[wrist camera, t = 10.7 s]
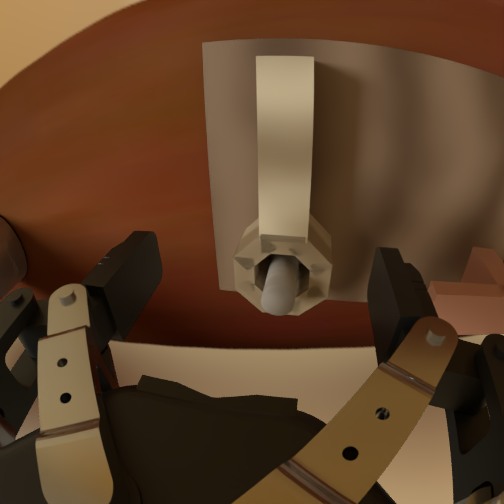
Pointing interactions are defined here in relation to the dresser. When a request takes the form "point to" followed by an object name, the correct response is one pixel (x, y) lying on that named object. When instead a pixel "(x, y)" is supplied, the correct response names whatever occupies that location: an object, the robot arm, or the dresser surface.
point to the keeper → (473, 296)
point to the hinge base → (364, 160)
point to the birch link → (284, 186)
